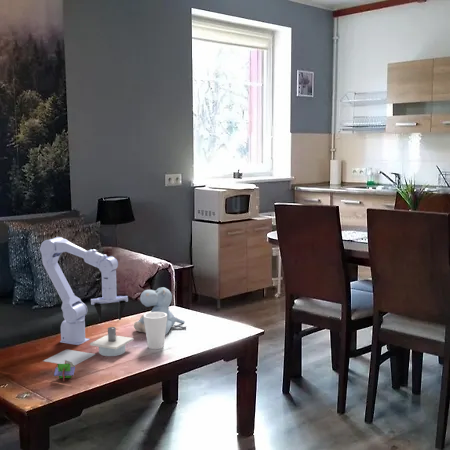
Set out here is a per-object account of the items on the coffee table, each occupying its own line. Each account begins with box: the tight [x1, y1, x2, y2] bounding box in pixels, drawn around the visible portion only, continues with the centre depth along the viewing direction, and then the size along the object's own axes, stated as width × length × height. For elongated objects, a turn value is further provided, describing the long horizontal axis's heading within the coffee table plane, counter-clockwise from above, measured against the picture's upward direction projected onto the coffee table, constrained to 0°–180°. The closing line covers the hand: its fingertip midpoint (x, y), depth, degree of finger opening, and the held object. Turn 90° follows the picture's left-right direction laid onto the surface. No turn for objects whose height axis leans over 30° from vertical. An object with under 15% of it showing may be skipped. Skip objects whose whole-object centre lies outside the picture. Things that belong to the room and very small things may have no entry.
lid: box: [89, 326, 135, 349], centre depth 235 cm, size 12×12×6 cm
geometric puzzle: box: [53, 360, 76, 383], centre depth 208 cm, size 7×7×8 cm
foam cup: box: [142, 311, 167, 350], centre depth 242 cm, size 10×9×13 cm
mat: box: [43, 349, 97, 367], centre depth 230 cm, size 14×14×1 cm
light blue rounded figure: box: [133, 286, 187, 336], centre depth 264 cm, size 18×23×18 cm
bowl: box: [98, 345, 126, 357], centre depth 236 cm, size 10×10×4 cm
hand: (110, 320), depth 244 cm, fingers open, 7 cm apart
